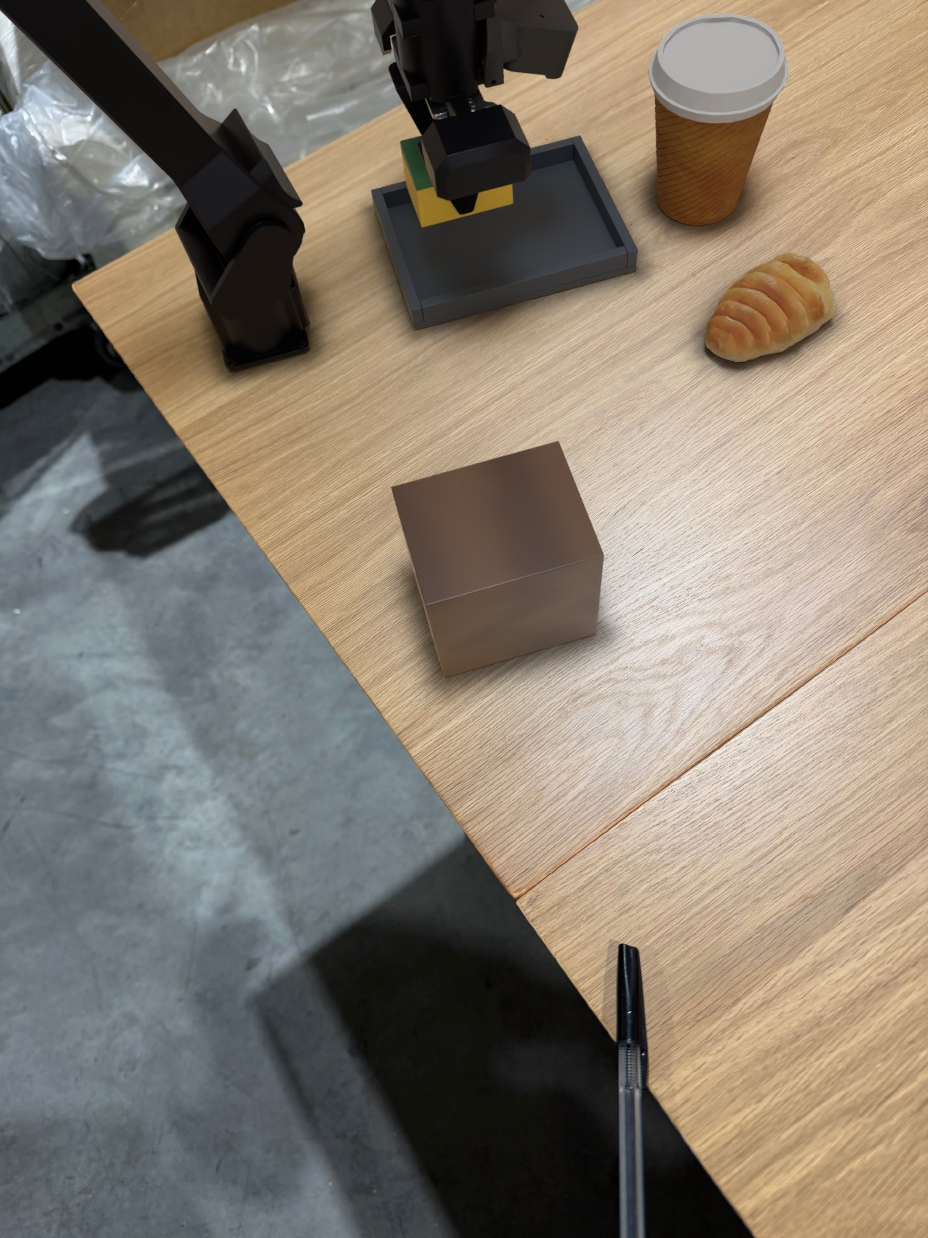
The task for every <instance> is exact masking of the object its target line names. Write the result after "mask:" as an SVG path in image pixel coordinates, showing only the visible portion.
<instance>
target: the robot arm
mask: <svg viewBox="0 0 928 1238" xmlns="http://www.w3.org/2000/svg"><path fill="white" fill-rule="evenodd" d="M0 12H1V13H2V14H3V15H4V16H5V17H6V18H7V19H8V20H9V21H10V22H11V23H12V24H13V25H14V26H15V27H16V28H17V29H18V30H19V31H20V32H21V33H22V34H23V35H24V36H25V37H26V38H27V39H28V40H30V42H31V43H32V44H34V46H35V47H36V48H38V50H40V51H41V52H42V53H43V54H44V55H45V57H47V59H49V60H50V61H51V62H52V63H53V64H54V65H55V66H56V67H57V68H58V69H59V70H60V71H61V72H62V73H63V74H64V75H65V76H66V77H67V78H68V79H69V80H70V81H71V82H72V83H73V84H74V85H75V86H76V87H77V88H78V89H79V90H80V91H82V93H83V94H84V95H85V96H86V97H87V98H89V100H90V101H91V102H93V104H95V105H96V106H97V108H99V110H100V111H102V113H104V114H105V116H107V117H108V119H110V120H111V121H112V122H113V123H114V124H115V125H116V126H117V127H118V128H119V129H120V131H122V132H123V133H124V134H125V135H126V136H127V137H128V138H129V139H130V140H131V141H132V142H133V143H134V144H135V145H136V146H137V147H138V148H139V149H140V150H141V151H142V152H143V153H144V154H145V155H146V156H148V157H149V158H150V160H152V161H153V162H154V163H155V165H157V167H158V168H159V169H160V170H162V171H163V172H164V173H165V174H166V175H167V176H168V177H169V178H170V179H171V181H173V183H174V184H175V186H176V187H177V189H178V190H179V192H180V193H181V195H182V197H183V198H184V200H185V202H186V204H185V205H184V207H183V209H182V211H181V214H180V215H179V217H178V218H177V221H176V223H175V225H174V230H175V232H176V234H177V236H178V238H179V240H180V243H181V245H182V247H183V249H184V251H185V253H186V255H187V257H188V260H189V261H190V263H191V265H192V267H193V271H194V275H195V281H196V286H197V291H198V295H199V299H200V300H201V302H202V305H203V307H204V309H205V312H206V314H207V316H208V318H209V321H210V323H211V325H212V328H213V329H214V332H215V335H216V336H217V339H218V341H219V343H220V347H221V352H222V356H223V363H224V365H225V368H226V370H227V371H228V372H230V373H233V372H238V371H242V370H245V369H248V368H252V367H256V366H260V365H263V364H267V363H271V362H275V361H278V360H281V359H282V360H283V359H286V358H289V357H293V356H298V355H300V354H304V353H307V352H308V351H310V349H311V344H310V341H309V337H308V333H307V329H306V328H308V327H309V326H310V325H311V320H310V317H309V314H308V310H307V306H306V303H305V298H304V296H303V292H302V289H301V286H300V284H299V280H298V276H297V273H296V270H295V267H294V257H295V256H296V255H297V254H298V252H299V249H300V248H301V246H302V244H303V240H304V235H305V234H306V227H305V223H304V221H303V219H302V217H301V215H300V214H299V212H298V210H297V208H301V207H302V206H303V205H304V204H303V201H302V199H301V197H300V196H299V194H298V192H297V190H296V189H295V187H294V185H293V184H292V181H291V180H290V178H289V177H288V175H287V173H286V172H285V170H284V169H283V166H282V165H281V163H280V161H279V160H278V157H277V156H276V154H275V153H274V151H273V150H272V148H271V146H270V144H269V143H267V142H265V141H263V140H260V139H259V138H258V137H256V136H255V135H254V134H253V132H251V131H250V129H249V127H248V126H247V124H246V122H245V121H244V119H243V117H242V115H241V114H240V112H239V110H238V109H237V108H236V107H234V108H232V110H231V111H230V112H229V114H228V115H227V116H226V117H225V119H224V120H223V121H222V122H221V121H219V120H216V119H214V118H212V117H210V116H208V115H206V114H204V113H203V112H201V111H200V110H199V109H198V108H197V107H196V106H195V105H194V103H192V101H191V100H190V99H189V98H188V97H187V96H186V95H185V94H184V92H183V91H182V90H181V89H180V88H179V87H178V86H177V85H176V84H175V82H174V81H173V80H172V79H171V78H170V77H169V76H168V74H166V72H165V71H164V70H163V69H162V68H161V67H160V65H158V64H157V62H156V61H155V60H154V59H153V58H152V57H151V55H149V53H148V52H147V51H146V50H145V48H143V46H141V44H140V43H139V42H138V41H137V40H136V38H134V37H133V35H132V34H131V33H130V32H129V31H128V30H127V28H125V27H124V25H123V23H121V22H120V21H119V20H118V18H117V17H115V16H114V15H113V13H112V12H111V11H110V9H108V7H107V6H106V5H105V4H104V3H103V2H102V1H101V0H0ZM370 13H371V19H372V25H373V26H372V27H373V31H374V36H375V38H376V41H377V43H378V46H379V49H380V52H381V54H382V56H386V55H389V54H392V51H393V56H394V60H395V61H394V62H392V63H390V64H389V65H388V68H387V70H388V73H389V76H390V78H391V81H392V83H393V86H394V89H395V91H396V93H397V95H398V97H399V98H400V101H401V102H402V104H403V106H404V107H405V109H406V111H407V113H408V114H409V116H410V118H411V119H412V121H413V124H414V125H415V126H416V128H417V131H418V132H419V134H420V136H421V135H423V136H422V137H421V142H419V143H417V146H418V149H419V152H420V154H421V157H422V159H423V162H424V165H425V167H426V169H427V172H428V174H429V177H430V179H431V182H432V185H433V187H434V190H435V192H436V195H437V197H438V198H441V199H444V200H447V201H449V200H450V202H451V203H452V205H453V206H454V208H455V209H456V210H457V212H458V213H459V214H460V215H463V214H467V213H471V212H473V211H474V208H475V204H476V201H477V197H478V194H479V193H480V192H484V191H488V190H491V189H495V188H499V187H503V186H507V185H511V184H514V183H518V182H522V181H525V180H526V179H527V178H528V176H529V175H530V173H531V148H532V147H531V145H530V143H529V140H528V139H527V137H526V135H525V133H524V130H523V128H522V126H521V123H520V122H519V119H518V117H517V116H516V113H514V112H513V111H512V110H510V109H509V108H507V107H505V106H504V105H502V104H499V103H498V104H497V103H496V102H494V101H489V100H487V101H486V100H485V99H484V96H483V94H482V92H481V90H480V88H479V86H482V85H483V86H484V88H486V89H489V88H494V87H497V86H502V85H504V84H505V72H504V71H508V72H511V73H520V74H529V75H537V76H545V78H546V79H548V80H559V79H561V77H563V73H564V72H565V68H566V65H567V63H568V59H569V57H570V54H571V51H572V49H573V46H574V43H575V40H576V37H577V35H578V32H579V24H578V22H577V20H576V19H575V16H574V14H573V13H572V11H571V10H570V7H569V5H568V4H567V2H566V1H565V0H374V2H373V4H372V5H371V7H370Z"/></svg>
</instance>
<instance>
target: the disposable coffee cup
mask: <svg viewBox="0 0 928 1238" xmlns="http://www.w3.org/2000/svg"><path fill="white" fill-rule="evenodd" d="M788 76H789V63H788V61H787V58H786V48H785V45H784V43H783V40H782V38H781V36H780V35H779V34H778V33H777V32H776V31H775V30H774V29H773V28H772V27H771V26H770V25H767V24H766V23H765V22H763V21H761V20H758V19H756V18H753V17H751V16H747V15H741V14H737V13H732V12H731V13H729V12H724V13H723V12H715V13H707V14H706V13H705V14H701V15H697V16H694V17H690V18H687V19H685V20H683V21H681V22H679V23H677V24H675V25H674V26H673V27H672V28H670V29H669V30H668V31H667V32H666V33H665V34H664V35H663V37H662V38H661V40H660V42H659V44H658V47H657V49H656V50H655V52H654V53H653V56H652V57H651V58H650V62H649V66H648V77H649V82H650V86H651V88H652V91H653V94H654V95H653V96H654V105H655V106H654V113H655V114H654V119H655V121H654V122H655V123H654V125H655V149H656V150H655V151H656V152H655V155H656V190H657V191H656V192H657V194H656V195H657V196H656V198H657V203H658V206H659V207H660V209H661V211H662V213H664V214H665V215H666V216H667V217H669V218H670V219H672V220H674V221H676V222H678V223H682V224H685V225H691V226H704V225H705V226H706V225H712V224H714V223H718V222H721V221H722V220H724V219H725V218H727V217H728V216H729V215H730V214H731V213H732V212H733V211H734V210H735V209H736V207H737V204H738V201H739V199H740V195H741V193H742V191H743V187H744V185H745V181H746V179H747V177H748V173H749V171H750V168H751V166H752V163H753V160H754V157H755V154H756V152H757V149H758V146H759V144H760V141H761V138H762V136H763V132H764V130H765V128H766V125H767V122H768V119H769V116H770V114H771V110H772V108H773V105H774V102H775V101H776V100H777V98H778V96H779V95H780V93H782V91H783V90H784V88H785V86H786V83H787V80H788Z"/></svg>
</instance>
